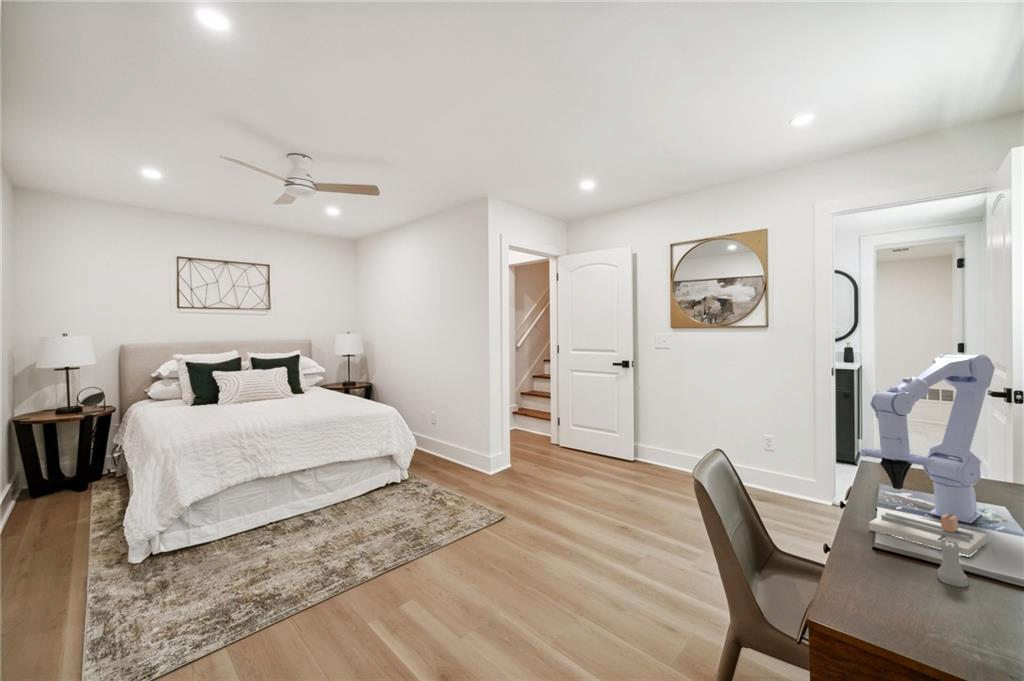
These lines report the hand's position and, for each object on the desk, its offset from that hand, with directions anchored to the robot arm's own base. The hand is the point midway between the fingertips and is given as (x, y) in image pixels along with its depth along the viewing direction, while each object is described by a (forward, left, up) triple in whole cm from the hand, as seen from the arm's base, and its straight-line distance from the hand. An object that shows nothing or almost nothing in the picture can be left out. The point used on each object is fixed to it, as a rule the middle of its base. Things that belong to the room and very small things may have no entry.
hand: (898, 488), depth 111 cm
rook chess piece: (+24, +16, -10) cm, 30 cm away
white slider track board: (+4, +6, -9) cm, 12 cm away
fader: (+4, +11, -7) cm, 13 cm away
